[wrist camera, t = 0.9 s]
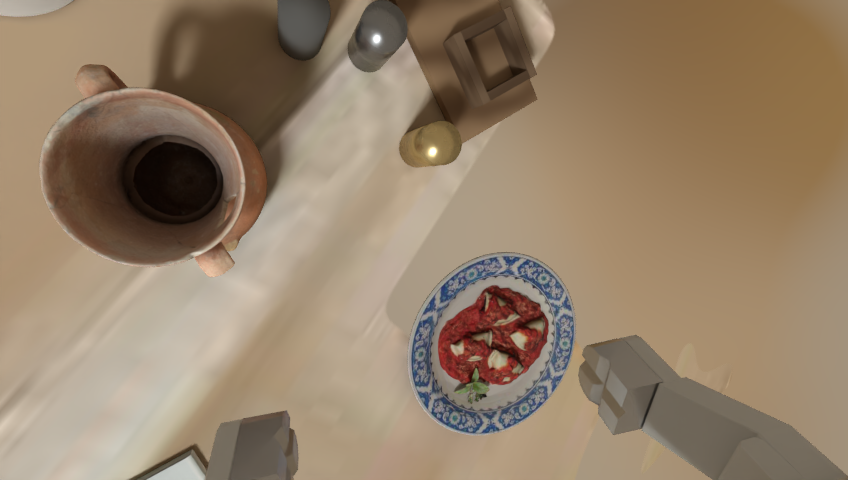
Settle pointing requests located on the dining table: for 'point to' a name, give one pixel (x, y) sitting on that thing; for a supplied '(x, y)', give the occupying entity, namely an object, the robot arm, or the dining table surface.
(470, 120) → the socket board
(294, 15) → the grey rounded cylinder
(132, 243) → the ceramic jug
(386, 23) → the dark steel roller
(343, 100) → the dining table surface
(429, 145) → the translucent yellow cylinder
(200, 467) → the hard drive
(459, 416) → the ceramic plate
